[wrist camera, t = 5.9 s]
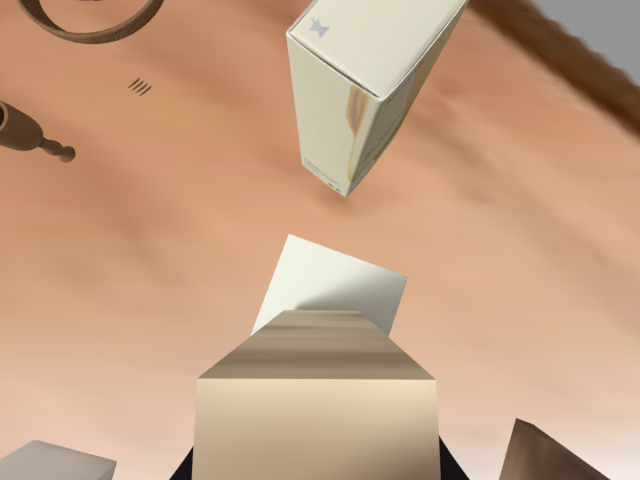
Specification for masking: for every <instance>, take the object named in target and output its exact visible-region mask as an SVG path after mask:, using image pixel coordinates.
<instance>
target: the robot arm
mask: <svg viewBox="0 0 640 480" xmlns="http://www.w3.org/2000/svg"><path fill="white" fill-rule="evenodd" d="M193 446H194V445H193ZM439 453H440V474H441V480H470V479H469V478H468V476H467V475H466V474H465V472H464V471H463V470H462V468H461V467H460V466H459V464H458V463H457V461H456V460H455V459H454V457H453V456H452V454H451V453H450V451H449V450H448V448H447V447H446V445H445V444H444V442H443V440H442V439H441V437H440V436H439ZM192 466H193V447H192V448H191V450H190V451H189V453H188V454H187V456H186V457H185V459H184V460H183V461H182V463H181V464H180V466H179V467H178V468H177V470H176V471H175V472H174V474H173V475H172V476H171V478H170V479H169V480H192Z"/></svg>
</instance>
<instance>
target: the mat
mask: <svg viewBox="0 0 640 480" xmlns="http://www.w3.org/2000/svg"><path fill="white" fill-rule="evenodd" d="M407 279H408V277H407V276H404V275H401V274H398V273H396V272H393V271H390V270H387V269H385V268H382V267H379V266H376V265H374V264H371V263H368V262H365V261H362V260H360V259H357V258H354V257H351V256H349V255H346V254H343V253H340V252H338V251H335V250H332V249H329V248H327V247H324V246H321V245H318V244H316V243H313V242H310V241H307V240H304V239H302V238H299V237H296V236H293V235H291V234H289V235H288V237H287V240H286V243H285V245H284V248H283V251H282V253H281V256H280V259H279V261H278V264H277V267H276V269H275V272H274V275H273V277H272V280H271V283H270V285H269V288H268V291H267V293H266V296H265V298H264V301H263V304H262V306H261V309H260V312H259V314H258V317H257V320H256V322H255V325H254V328H253V330H252V333H251V336H252V335H253V334H254V333H255V332H257V331H258V330H259V329H260V328H262V327H263V326H264V325H266V324H267V323H268V322H269V321H271V320H272V319H273V318H274V317H276V316H277V315H278V314H280V313H281V312H282V311H283V310H359V311H360V312H361V313H362V314H363V315H364V316H365V317H366V318H368V319H369V320H370V321H371V322H372V323H373V324H374V325H375V326H377V327H378V328H379V329H380V330H381V331H382V332H383V333H384V334H385V335H387V336H388V337H389V334H390V331H391V328H392V325H393V322H394V319H395V316H396V313H397V310H398V307H399V304H400V301H401V298H402V294H403V291H404V288H405V285H406V282H407Z"/></svg>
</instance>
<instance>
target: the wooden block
mask: <svg viewBox="0 0 640 480" xmlns="http://www.w3.org/2000/svg"><path fill="white" fill-rule="evenodd" d="M192 480H441V474H440V453H439V431H438V409H437V387H436V379H435V378H434V377H432V376H431V375H430V374H429V373H428V372H427V371H426V370H425V369H424V368H422V367H421V366H420V365H419V364H418V363H417V362H416V361H415V360H413V359H412V358H411V357H410V356H409V355H408V354H407V353H406V352H405V351H403V350H402V349H401V348H400V347H399V346H398V345H397V344H396V343H394V342H393V341H392V340H391V339H390V338H389V337H388V336H387V335H385V334H384V333H383V332H382V331H381V330H380V329H379V328H378V327H377V326H375V325H374V324H373V323H372V322H371V321H370V320H369V319H368V318H366V317H365V316H364V315H363V314H362V313H361V312H360V311H359V310H283V311H282V312H281V313H280V314H278V315H277V316H276V317H274V318H273V319H272V320H271V321H269V322H268V323H267V324H266V325H264V326H263V327H262V328H260V329H259V330H258V331H257V332H255V333H254V334H253V335H252V336H250V337H249V338H248V339H247V340H245V341H244V342H243V343H241V344H240V345H239V346H238V347H236V348H235V349H234V350H233V351H231V352H230V353H229V354H227V355H226V356H225V357H224V358H222V359H221V360H220V361H219V362H217V363H216V364H215V365H214V366H212V367H211V368H210V369H208V370H207V371H206V372H205V373H203V374H202V375H201V376H200V377H198V378H197V389H196V408H195V427H194V446H193V466H192Z"/></svg>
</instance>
